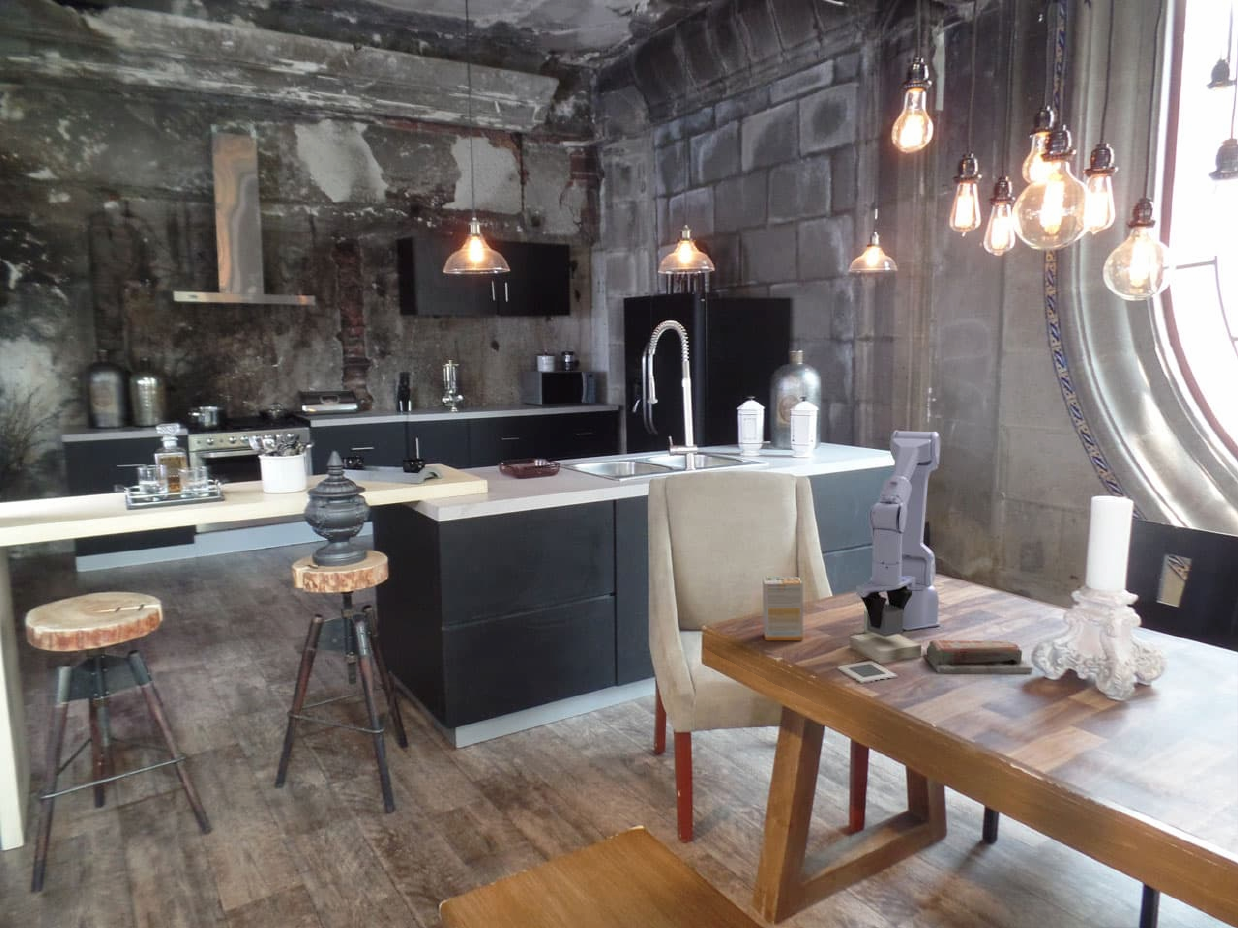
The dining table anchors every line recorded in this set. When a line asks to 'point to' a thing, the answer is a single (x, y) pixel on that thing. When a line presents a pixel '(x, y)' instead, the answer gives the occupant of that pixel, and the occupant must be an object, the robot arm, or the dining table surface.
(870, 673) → the tile
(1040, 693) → the dining table surface
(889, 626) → the charcoal block
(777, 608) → the supplement box
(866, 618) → the sage block
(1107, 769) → the dining table surface
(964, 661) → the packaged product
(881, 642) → the birch base block
